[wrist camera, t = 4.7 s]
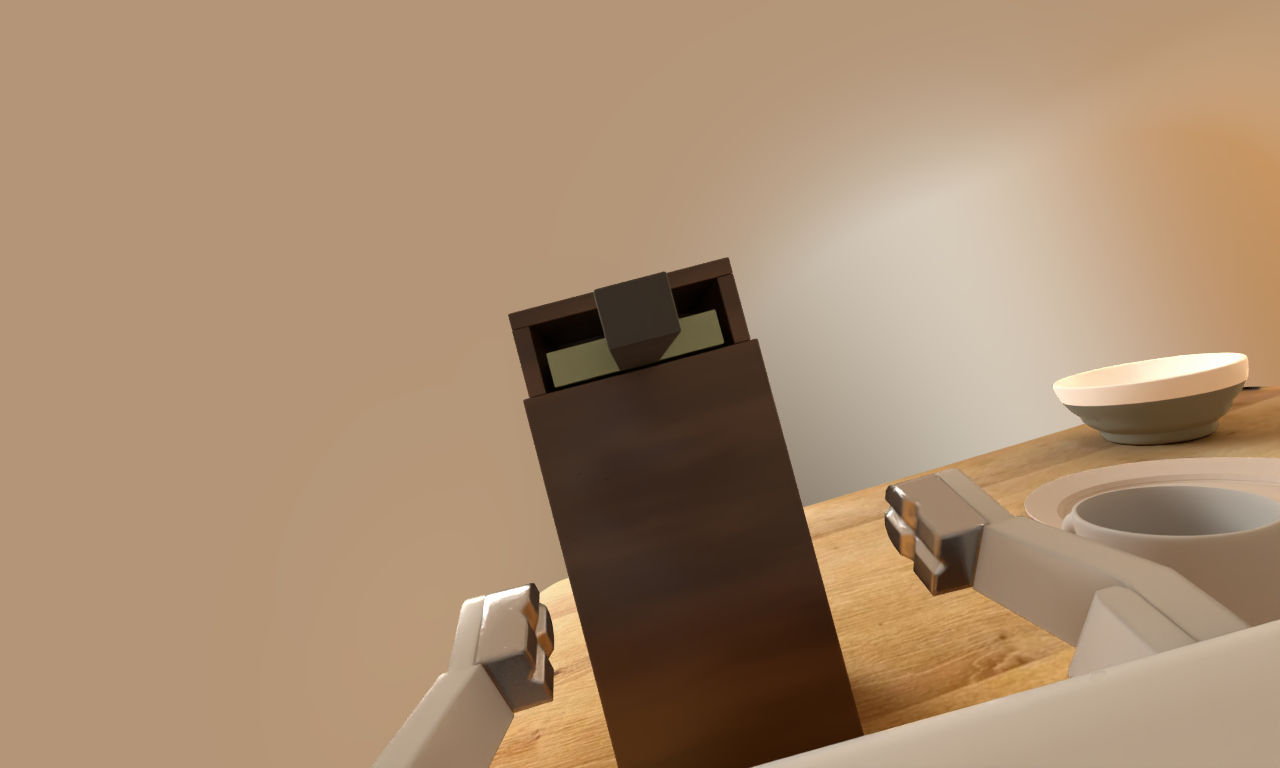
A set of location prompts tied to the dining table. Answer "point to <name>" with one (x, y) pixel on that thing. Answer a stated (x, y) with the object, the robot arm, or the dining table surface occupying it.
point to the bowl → (1156, 397)
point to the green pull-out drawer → (635, 333)
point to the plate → (1153, 481)
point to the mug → (1196, 539)
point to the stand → (687, 543)
